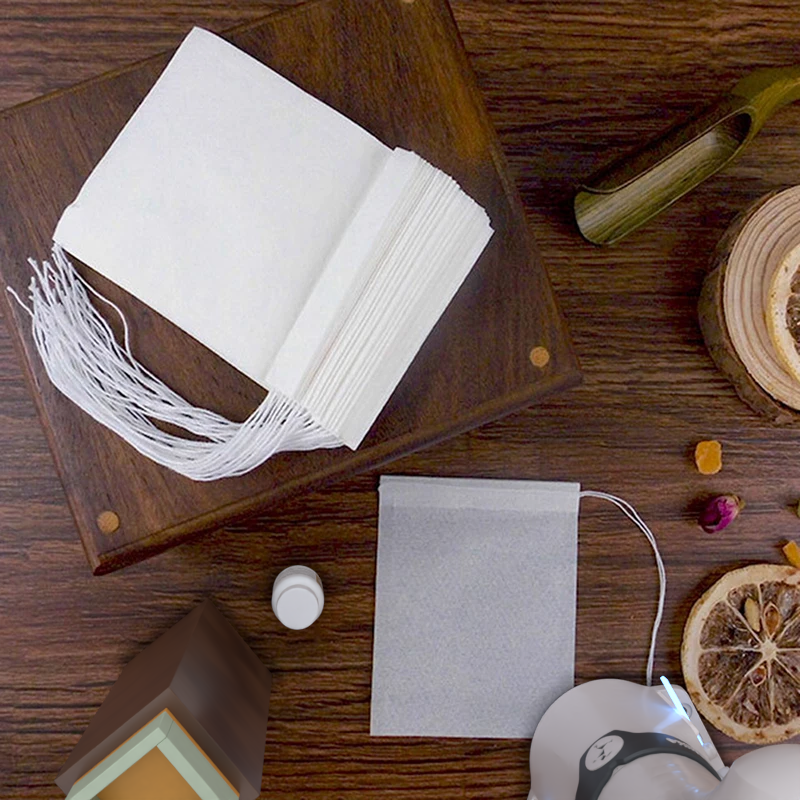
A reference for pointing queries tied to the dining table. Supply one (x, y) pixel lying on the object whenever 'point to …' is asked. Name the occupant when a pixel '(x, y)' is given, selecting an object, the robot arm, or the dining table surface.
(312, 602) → the pill bottle
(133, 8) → the dining table surface
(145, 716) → the stand
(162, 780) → the socket base
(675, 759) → the robot arm
